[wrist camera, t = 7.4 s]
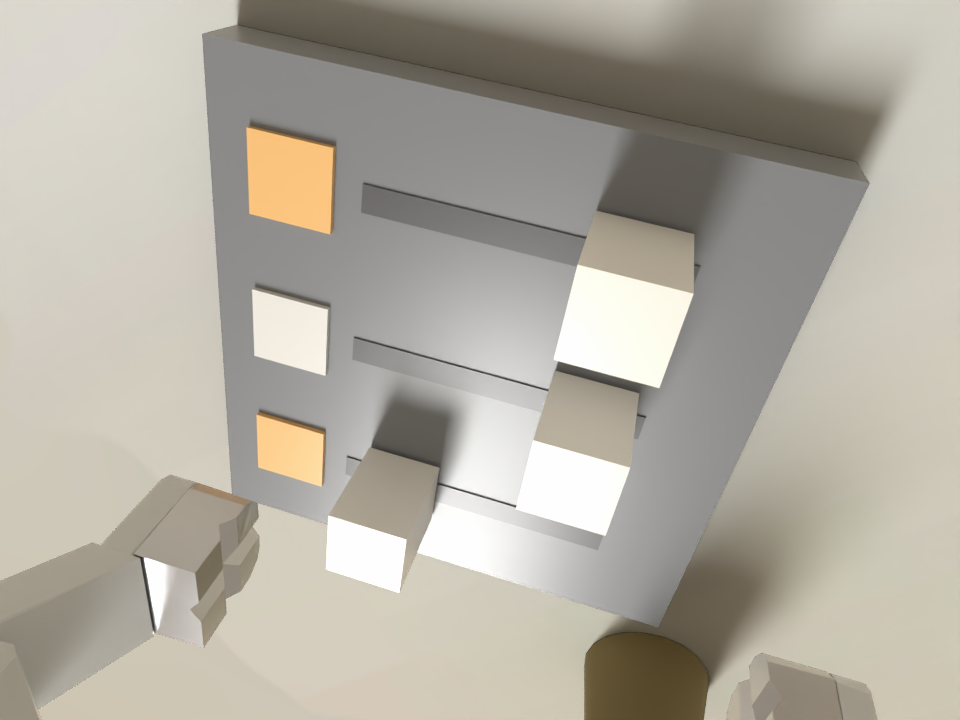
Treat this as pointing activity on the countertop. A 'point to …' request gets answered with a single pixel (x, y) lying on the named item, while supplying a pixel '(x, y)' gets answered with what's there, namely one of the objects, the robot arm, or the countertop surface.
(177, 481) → the robot arm
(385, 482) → the switch left
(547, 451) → the switch middle
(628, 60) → the countertop surface
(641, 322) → the cream slider knob
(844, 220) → the switch panel
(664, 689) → the cork
